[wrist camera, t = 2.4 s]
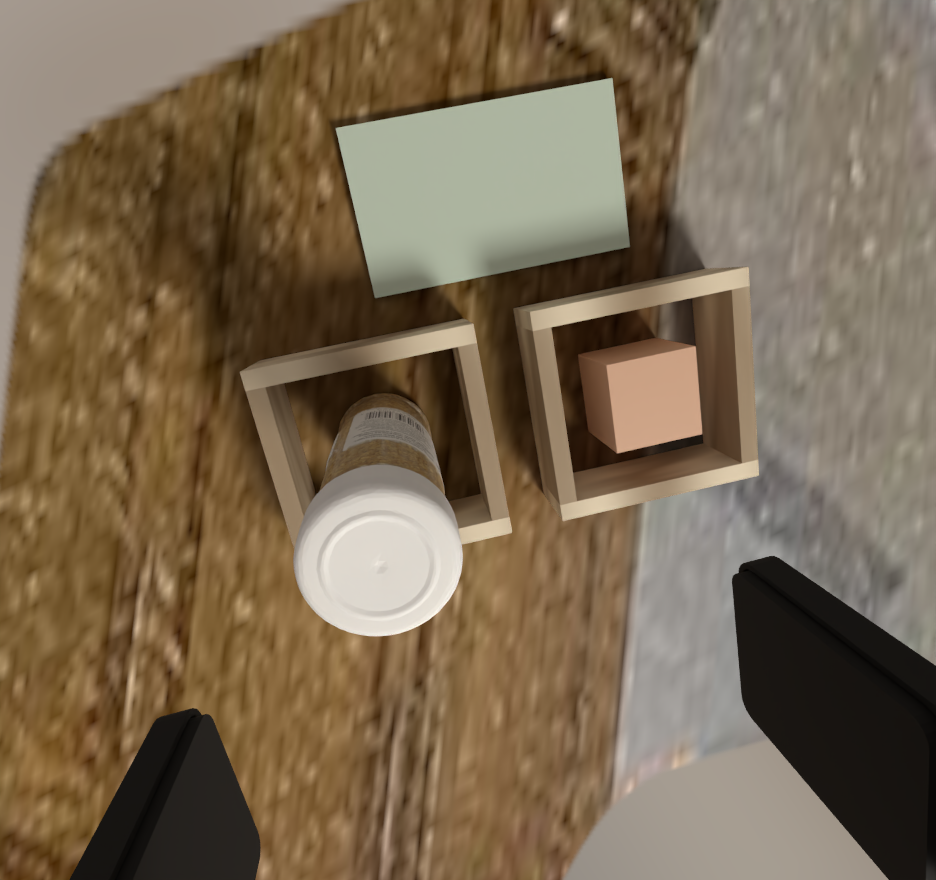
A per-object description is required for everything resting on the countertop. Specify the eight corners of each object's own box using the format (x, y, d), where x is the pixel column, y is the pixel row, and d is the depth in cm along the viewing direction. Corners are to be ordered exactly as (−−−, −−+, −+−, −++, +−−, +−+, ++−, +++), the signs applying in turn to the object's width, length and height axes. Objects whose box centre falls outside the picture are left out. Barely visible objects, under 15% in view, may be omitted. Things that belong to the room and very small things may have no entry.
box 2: (705, 268, 28) (748, 266, 24) (718, 454, 30) (758, 475, 27) (513, 308, 27) (529, 312, 24) (543, 494, 30) (562, 521, 26)
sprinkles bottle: (320, 451, 28) (256, 596, 15) (370, 372, 27) (348, 453, 14) (401, 497, 29) (406, 669, 16) (451, 422, 28) (498, 539, 15)
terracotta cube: (654, 337, 28) (695, 346, 25) (662, 414, 30) (702, 433, 26) (577, 354, 28) (606, 365, 24) (587, 431, 29) (617, 453, 26)
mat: (608, 81, 25) (612, 78, 25) (626, 247, 27) (629, 246, 27) (336, 130, 24) (335, 128, 24) (375, 298, 26) (375, 298, 26)
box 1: (463, 318, 27) (473, 323, 24) (498, 504, 30) (512, 532, 26) (259, 360, 26) (239, 371, 23) (314, 546, 29) (304, 581, 26)
